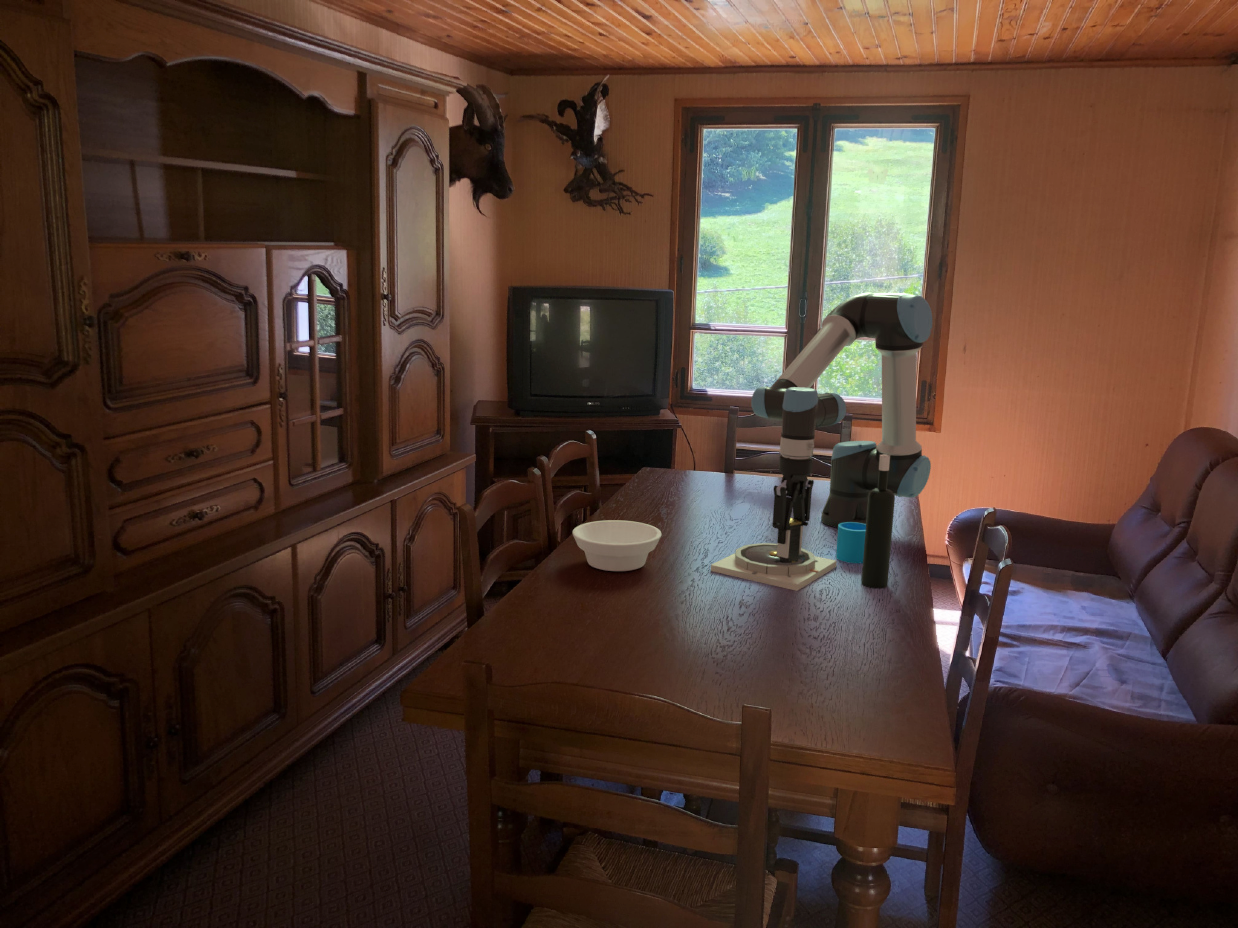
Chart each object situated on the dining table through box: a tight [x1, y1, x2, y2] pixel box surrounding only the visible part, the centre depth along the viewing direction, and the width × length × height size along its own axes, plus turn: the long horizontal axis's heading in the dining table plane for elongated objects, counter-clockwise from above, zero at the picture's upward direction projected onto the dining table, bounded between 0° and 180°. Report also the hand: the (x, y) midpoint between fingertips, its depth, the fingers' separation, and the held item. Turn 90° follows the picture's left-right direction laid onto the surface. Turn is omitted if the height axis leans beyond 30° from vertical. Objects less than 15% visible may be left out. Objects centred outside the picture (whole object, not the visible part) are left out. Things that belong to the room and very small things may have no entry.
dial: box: [745, 517, 805, 566], centre depth 226 cm, size 14×14×11 cm
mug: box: [835, 522, 866, 564], centre depth 238 cm, size 12×8×8 cm
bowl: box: [572, 519, 663, 572], centre depth 227 cm, size 21×21×8 cm
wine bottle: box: [860, 454, 896, 589], centre depth 215 cm, size 6×6×30 cm
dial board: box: [710, 542, 837, 592], centre depth 227 cm, size 22×22×4 cm
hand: (788, 554), depth 223 cm, fingers open, 5 cm apart
